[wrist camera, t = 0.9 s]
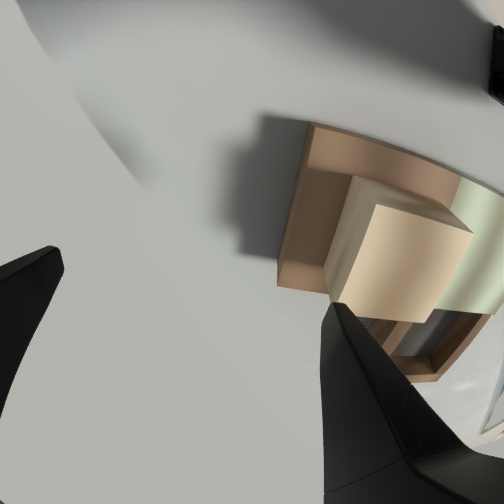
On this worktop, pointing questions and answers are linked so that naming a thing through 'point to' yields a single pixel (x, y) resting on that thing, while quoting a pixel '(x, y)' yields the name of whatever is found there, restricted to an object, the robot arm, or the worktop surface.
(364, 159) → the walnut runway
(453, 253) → the beech block
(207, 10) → the worktop surface
